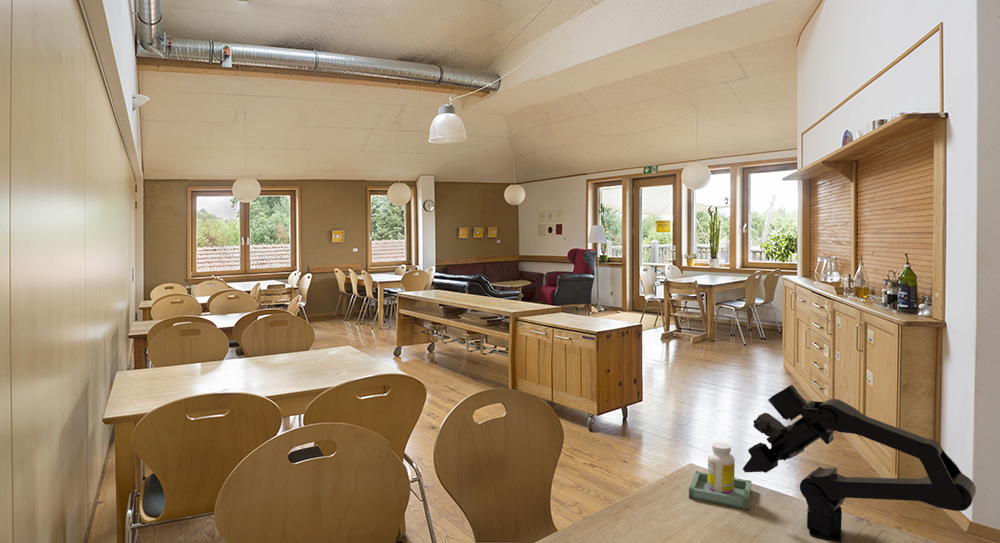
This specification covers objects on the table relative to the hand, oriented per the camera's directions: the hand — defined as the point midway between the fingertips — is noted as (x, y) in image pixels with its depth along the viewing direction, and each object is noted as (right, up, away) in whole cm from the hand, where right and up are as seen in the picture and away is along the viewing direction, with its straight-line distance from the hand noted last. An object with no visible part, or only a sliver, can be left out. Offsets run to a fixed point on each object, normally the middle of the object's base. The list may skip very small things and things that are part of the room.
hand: (753, 465), depth 146 cm
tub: (-5, -10, +8) cm, 14 cm away
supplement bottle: (-6, -10, +7) cm, 13 cm away
